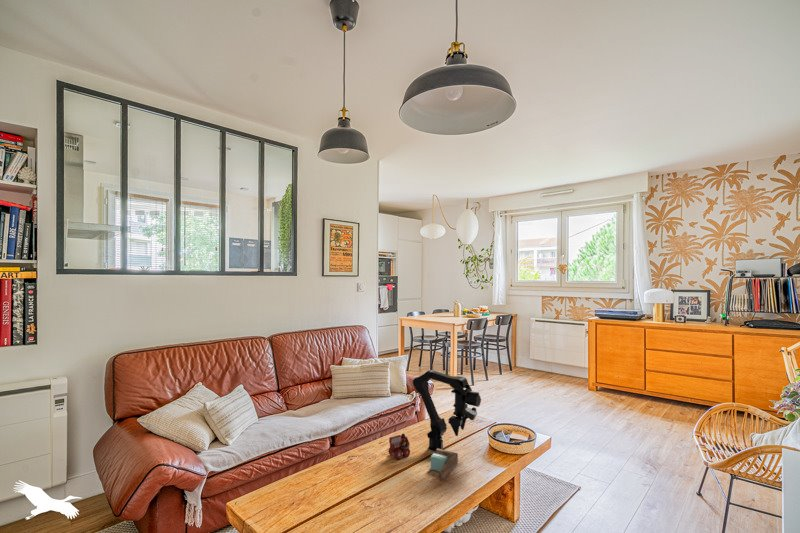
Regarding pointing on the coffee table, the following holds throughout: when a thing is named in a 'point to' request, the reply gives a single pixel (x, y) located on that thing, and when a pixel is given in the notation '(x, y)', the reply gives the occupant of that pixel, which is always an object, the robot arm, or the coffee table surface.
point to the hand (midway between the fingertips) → (459, 432)
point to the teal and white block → (438, 461)
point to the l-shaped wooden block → (450, 464)
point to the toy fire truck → (399, 446)
